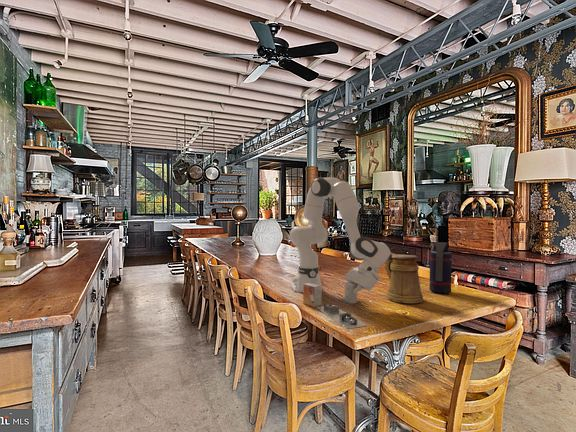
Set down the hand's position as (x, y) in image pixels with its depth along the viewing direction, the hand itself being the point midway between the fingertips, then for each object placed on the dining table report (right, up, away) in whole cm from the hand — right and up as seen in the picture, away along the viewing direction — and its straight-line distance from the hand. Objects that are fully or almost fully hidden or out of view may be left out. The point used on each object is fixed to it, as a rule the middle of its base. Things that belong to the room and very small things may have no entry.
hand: (349, 291), depth 163 cm
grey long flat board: (-7, -10, -9) cm, 15 cm away
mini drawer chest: (+1, -5, 0) cm, 5 cm away
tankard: (+32, -9, +21) cm, 40 cm away
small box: (-18, -9, +9) cm, 22 cm away
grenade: (+60, -9, +35) cm, 70 cm away
